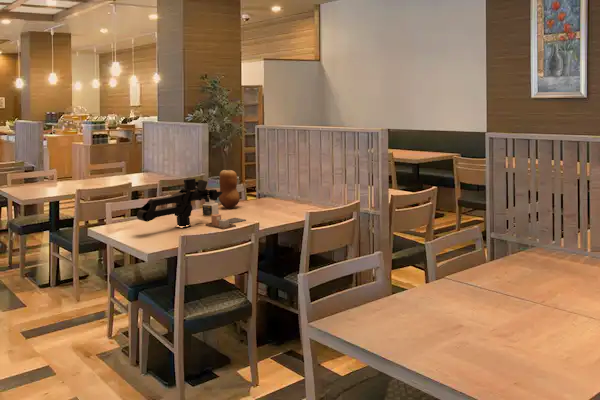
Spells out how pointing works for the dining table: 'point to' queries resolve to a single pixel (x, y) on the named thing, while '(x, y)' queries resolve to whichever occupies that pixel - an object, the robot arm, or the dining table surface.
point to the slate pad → (235, 220)
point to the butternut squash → (228, 189)
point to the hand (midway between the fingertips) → (217, 191)
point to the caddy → (220, 226)
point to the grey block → (223, 222)
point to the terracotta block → (215, 219)
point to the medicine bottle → (210, 207)
